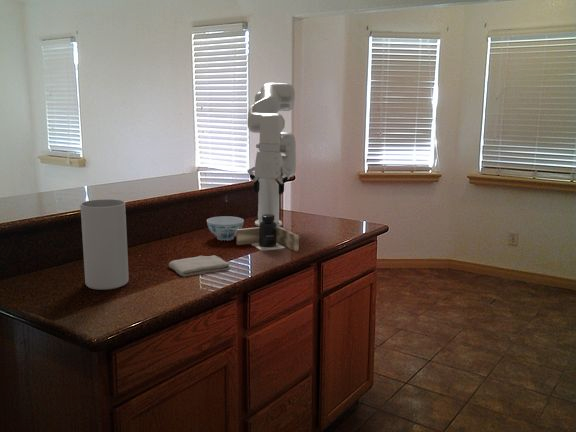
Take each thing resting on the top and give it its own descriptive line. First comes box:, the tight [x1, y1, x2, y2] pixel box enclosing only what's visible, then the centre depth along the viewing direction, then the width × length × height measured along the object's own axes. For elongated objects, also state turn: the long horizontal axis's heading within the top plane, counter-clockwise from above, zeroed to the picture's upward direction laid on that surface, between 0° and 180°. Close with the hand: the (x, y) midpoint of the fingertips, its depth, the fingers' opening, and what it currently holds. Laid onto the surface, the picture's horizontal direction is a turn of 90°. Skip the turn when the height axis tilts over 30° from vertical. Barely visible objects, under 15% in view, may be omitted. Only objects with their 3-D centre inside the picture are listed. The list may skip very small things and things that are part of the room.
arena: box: [236, 225, 300, 252], centre depth 204 cm, size 18×18×6 cm
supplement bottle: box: [258, 214, 277, 247], centre depth 204 cm, size 7×7×12 cm
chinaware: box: [206, 215, 245, 242], centre depth 215 cm, size 15×15×8 cm
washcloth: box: [168, 254, 230, 277], centre depth 177 cm, size 12×18×3 cm, turn 123°
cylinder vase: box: [80, 198, 129, 291], centre depth 158 cm, size 12×12×25 cm
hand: (268, 192), depth 201 cm, fingers open, 9 cm apart
